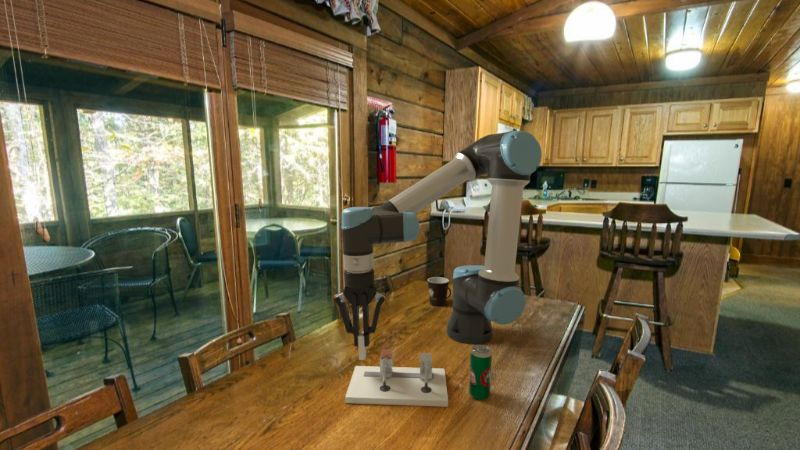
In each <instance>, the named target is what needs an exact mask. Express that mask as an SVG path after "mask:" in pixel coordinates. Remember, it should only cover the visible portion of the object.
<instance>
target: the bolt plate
mask: <svg viewBox="0 0 800 450" xmlns="http://www.w3.org/2000/svg"><path fill="white" fill-rule="evenodd" d="M345 393H346V394H345V397H344V402H345V404H357V405H358V404H363V405H387V406H388V405H389V406H391V405H393V406H414V407H415V406H419V407H420V406H421V407H445V408H446V407H449V398H448V397H449V396H448V390H447V380H446V371H445V368H440V367H438V368H435V367H432V380H428V388H427V389H426V388H425V379H420V367H410V366H408V367H406V366H405V367H401V366H400V367H399V366H398V367H397V366H393V372H392V378H387V377H386V387H383V377H380V366H377V365H376V366H372V365H371V366H370V365H368V366H367V365H355V366H354V369H353V372H352V375H351V379H350V381H349V384H348V387H347V391H346V392H345Z"/></svg>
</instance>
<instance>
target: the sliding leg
mask: <svg viewBox="0 0 800 450" xmlns="http://www.w3.org/2000/svg"><path fill="white" fill-rule="evenodd" d="M379 367H380V377H383V387H386V377H387V378H392V372H393V367H394V352H393V350H392V349H391V348H389V349H388V348H387V349H386V348H383V349H381V352H380V357H379Z"/></svg>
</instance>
